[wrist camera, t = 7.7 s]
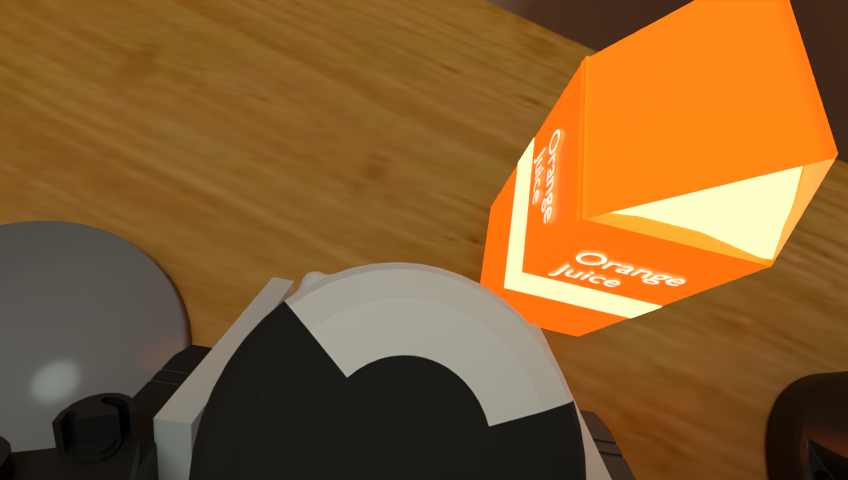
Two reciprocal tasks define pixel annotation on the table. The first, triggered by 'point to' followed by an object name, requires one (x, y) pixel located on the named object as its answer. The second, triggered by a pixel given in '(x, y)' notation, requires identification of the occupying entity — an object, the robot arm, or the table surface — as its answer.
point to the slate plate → (77, 323)
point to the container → (390, 387)
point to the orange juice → (662, 169)
